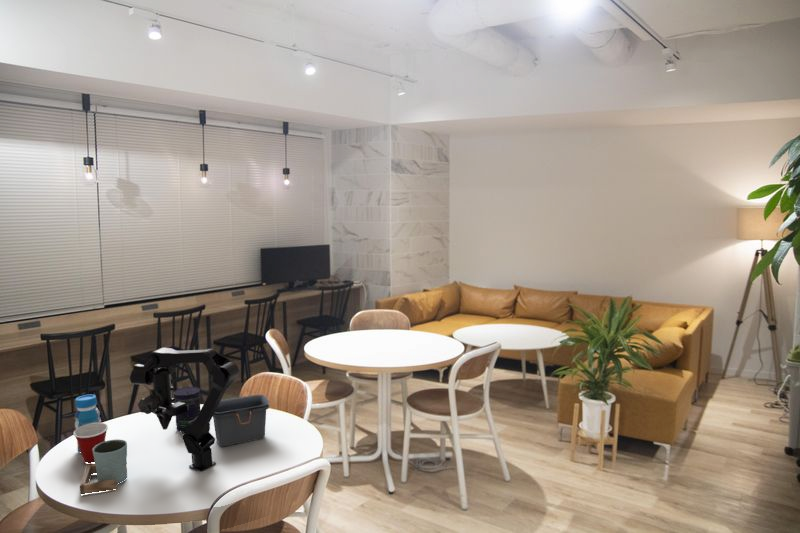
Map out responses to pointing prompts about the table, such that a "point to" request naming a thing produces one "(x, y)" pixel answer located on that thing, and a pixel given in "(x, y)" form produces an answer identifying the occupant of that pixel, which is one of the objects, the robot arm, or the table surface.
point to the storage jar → (192, 400)
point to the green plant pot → (111, 460)
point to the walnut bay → (95, 486)
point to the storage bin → (240, 419)
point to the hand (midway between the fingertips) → (165, 429)
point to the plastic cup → (90, 438)
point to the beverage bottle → (86, 411)
